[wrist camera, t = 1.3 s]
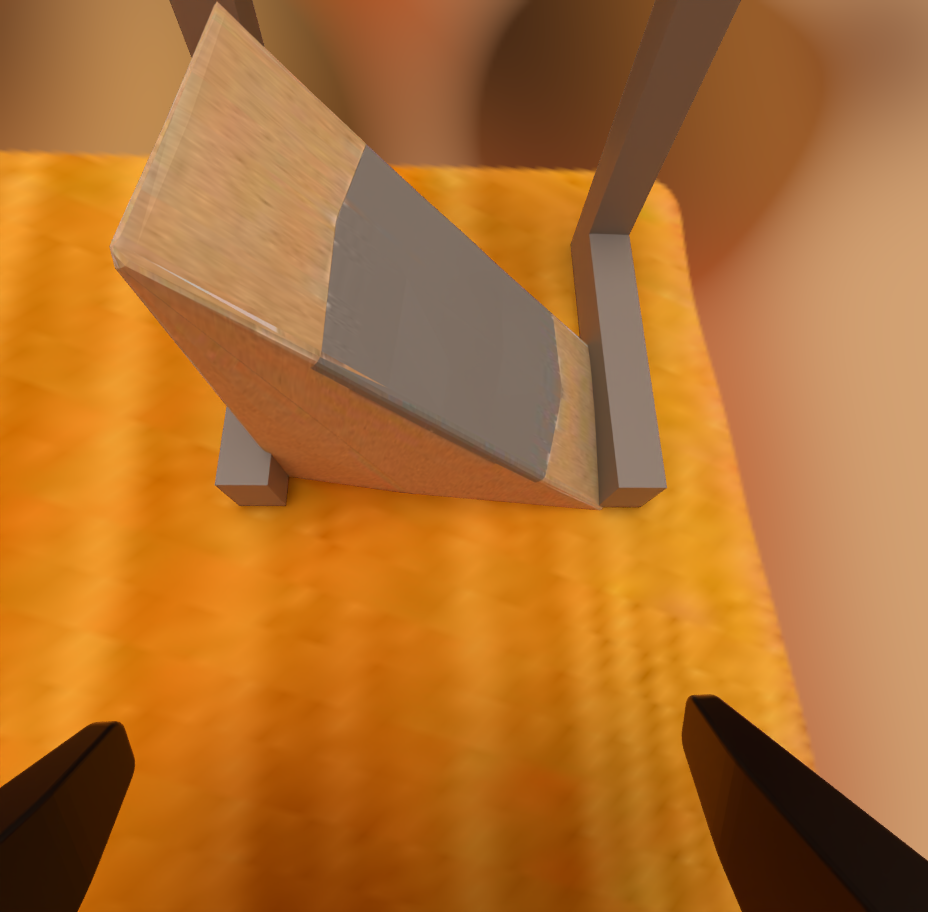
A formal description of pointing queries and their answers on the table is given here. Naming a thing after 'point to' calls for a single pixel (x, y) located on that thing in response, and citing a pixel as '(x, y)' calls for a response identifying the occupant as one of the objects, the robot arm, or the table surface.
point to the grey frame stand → (593, 252)
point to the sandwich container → (346, 300)
